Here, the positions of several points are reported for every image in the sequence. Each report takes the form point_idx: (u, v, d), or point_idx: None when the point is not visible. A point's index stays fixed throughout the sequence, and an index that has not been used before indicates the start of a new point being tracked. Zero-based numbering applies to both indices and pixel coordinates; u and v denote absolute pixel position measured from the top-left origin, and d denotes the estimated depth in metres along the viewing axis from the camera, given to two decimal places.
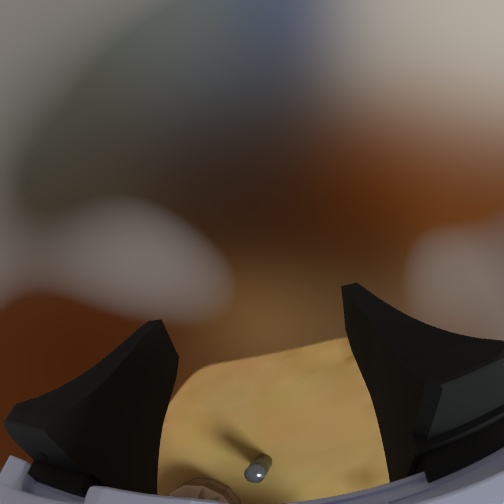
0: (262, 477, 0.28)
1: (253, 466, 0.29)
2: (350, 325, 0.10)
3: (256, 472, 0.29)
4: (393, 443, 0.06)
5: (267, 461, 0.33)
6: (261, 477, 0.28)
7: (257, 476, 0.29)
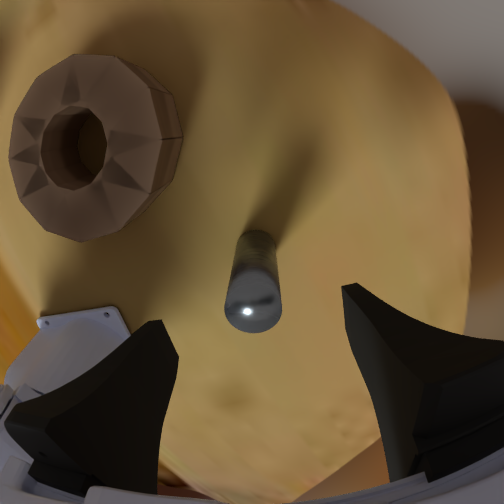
0: (246, 328, 0.13)
1: (278, 305, 0.13)
2: (350, 325, 0.10)
3: (260, 314, 0.13)
4: (393, 443, 0.06)
5: None
6: (245, 326, 0.13)
7: (247, 317, 0.13)
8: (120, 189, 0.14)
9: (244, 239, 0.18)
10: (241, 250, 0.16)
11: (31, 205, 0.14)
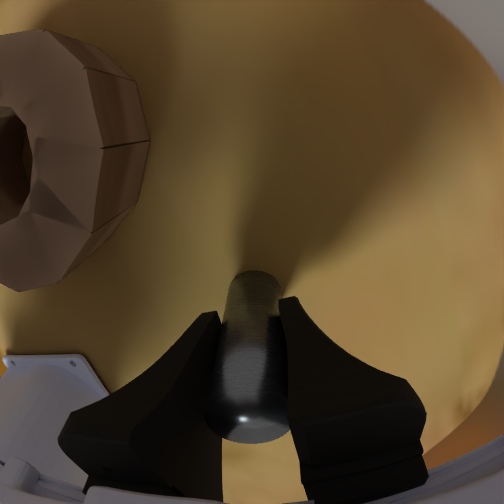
0: (239, 439, 0.08)
1: None
2: None
3: (259, 426, 0.07)
4: None
5: None
6: (238, 438, 0.08)
7: (240, 429, 0.08)
8: (53, 224, 0.09)
9: (238, 288, 0.12)
10: (233, 310, 0.11)
11: None
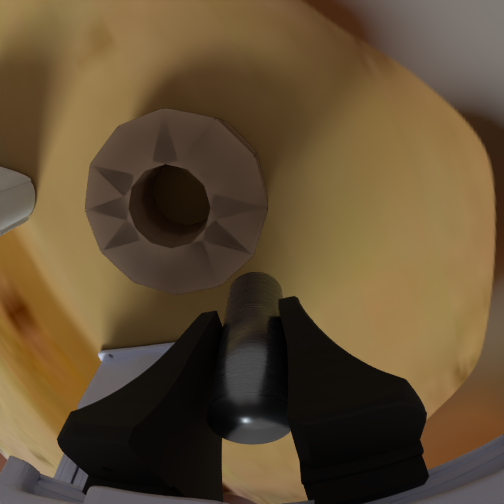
0: (243, 440, 0.08)
1: None
2: None
3: (261, 426, 0.08)
4: None
5: None
6: (241, 439, 0.08)
7: (243, 430, 0.08)
8: (223, 249, 0.16)
9: (237, 290, 0.12)
10: (232, 312, 0.11)
11: (116, 258, 0.17)
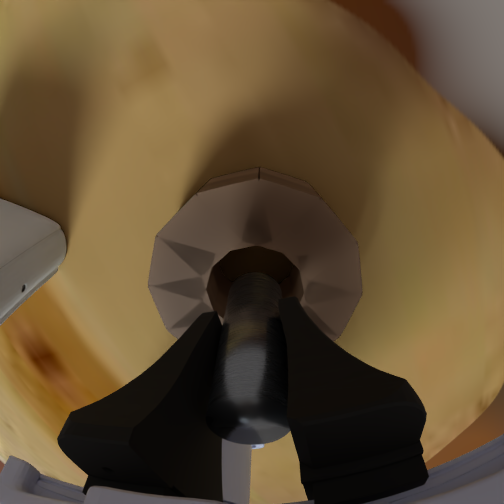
0: (243, 441, 0.08)
1: None
2: None
3: (261, 426, 0.08)
4: None
5: None
6: (242, 439, 0.08)
7: (243, 430, 0.08)
8: None
9: (236, 291, 0.12)
10: (231, 313, 0.11)
11: None
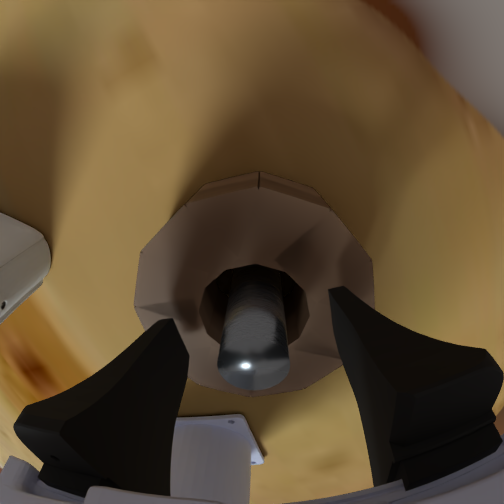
0: (248, 386, 0.10)
1: (285, 358, 0.10)
2: (336, 328, 0.10)
3: (263, 370, 0.10)
4: (375, 448, 0.06)
5: None
6: (247, 384, 0.10)
7: (248, 374, 0.10)
8: (316, 357, 0.13)
9: None
10: (236, 282, 0.13)
11: None
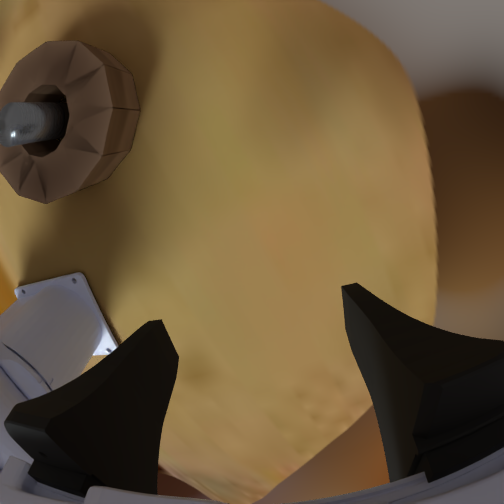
0: (7, 143, 0.11)
1: (21, 113, 0.11)
2: (350, 325, 0.10)
3: (12, 126, 0.11)
4: (393, 443, 0.06)
5: (65, 129, 0.15)
6: (7, 142, 0.11)
7: (7, 132, 0.11)
8: (78, 153, 0.14)
9: None
10: None
11: (8, 173, 0.15)
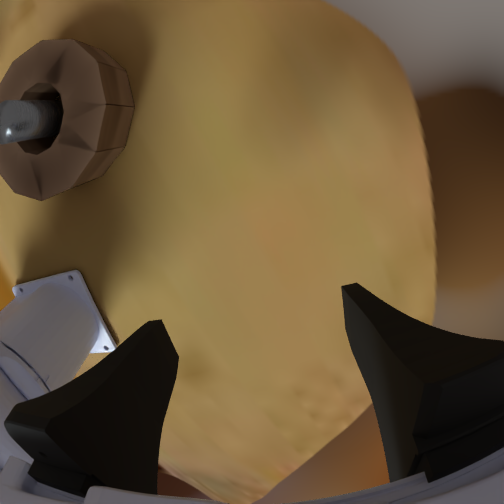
0: (3, 140, 0.11)
1: (16, 111, 0.11)
2: (350, 325, 0.10)
3: (7, 123, 0.11)
4: (393, 443, 0.06)
5: (60, 127, 0.15)
6: (2, 139, 0.11)
7: (2, 130, 0.11)
8: (72, 149, 0.14)
9: None
10: None
11: (4, 171, 0.15)
